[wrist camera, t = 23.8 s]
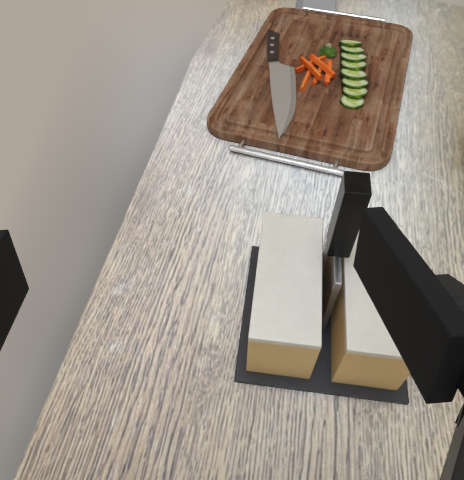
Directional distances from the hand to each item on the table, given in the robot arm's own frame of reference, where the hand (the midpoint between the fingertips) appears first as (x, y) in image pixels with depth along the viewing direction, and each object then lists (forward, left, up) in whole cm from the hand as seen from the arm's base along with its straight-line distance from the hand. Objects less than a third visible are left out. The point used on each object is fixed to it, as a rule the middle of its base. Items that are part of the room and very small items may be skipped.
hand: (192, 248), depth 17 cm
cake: (-9, +13, -27) cm, 32 cm away
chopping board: (-52, +28, -27) cm, 65 cm away
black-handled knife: (-11, +14, -27) cm, 32 cm away
